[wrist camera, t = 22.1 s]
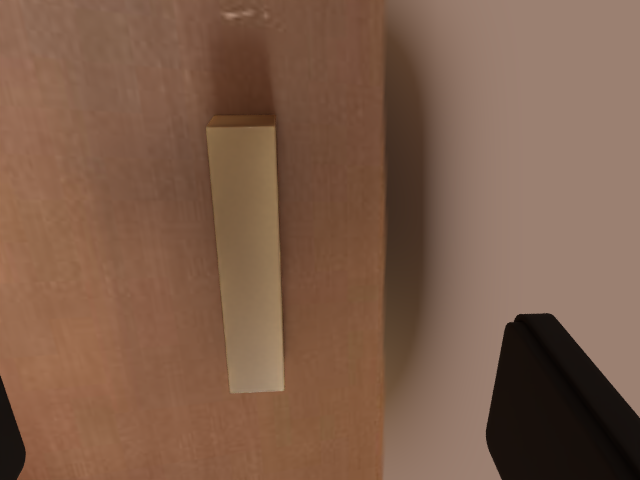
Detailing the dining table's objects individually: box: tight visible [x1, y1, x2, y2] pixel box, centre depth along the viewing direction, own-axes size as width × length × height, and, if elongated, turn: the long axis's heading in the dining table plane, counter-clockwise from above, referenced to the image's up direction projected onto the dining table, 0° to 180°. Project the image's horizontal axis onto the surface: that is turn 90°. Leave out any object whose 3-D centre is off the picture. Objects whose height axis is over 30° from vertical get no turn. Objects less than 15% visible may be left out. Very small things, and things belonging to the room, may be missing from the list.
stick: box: [206, 115, 285, 393], centre depth 22 cm, size 2×12×2 cm, turn 0°
